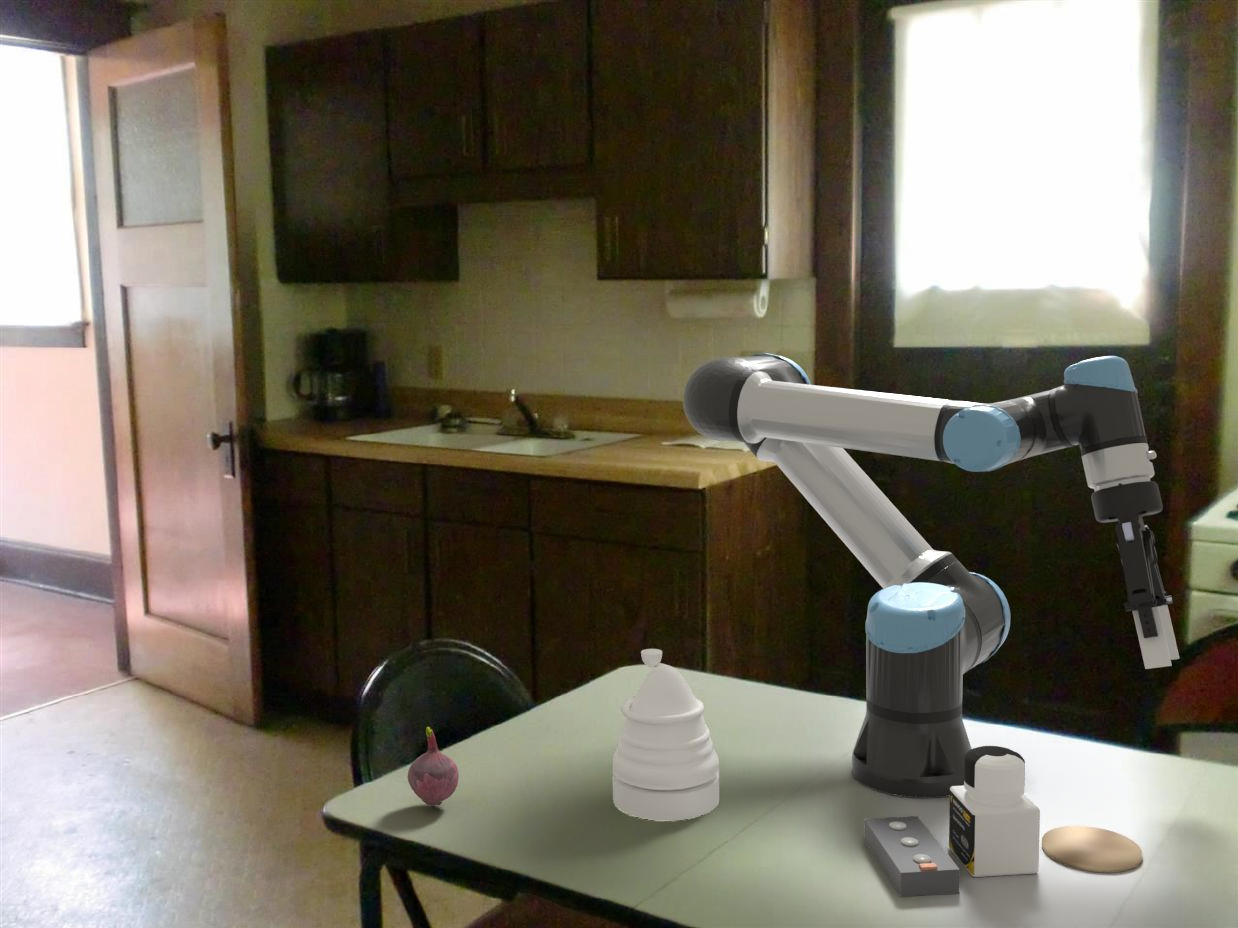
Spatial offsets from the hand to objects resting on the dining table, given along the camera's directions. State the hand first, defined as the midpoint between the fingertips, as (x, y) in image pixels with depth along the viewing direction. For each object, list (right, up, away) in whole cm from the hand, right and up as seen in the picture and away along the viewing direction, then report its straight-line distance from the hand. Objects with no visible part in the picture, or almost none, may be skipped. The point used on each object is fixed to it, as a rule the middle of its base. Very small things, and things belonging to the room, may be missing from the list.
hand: (1163, 663), depth 139 cm
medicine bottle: (-24, -19, -12) cm, 33 cm away
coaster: (-13, -18, -11) cm, 25 cm away
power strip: (-33, -19, -13) cm, 40 cm away
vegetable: (-85, -18, +4) cm, 87 cm away
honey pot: (-58, -17, +5) cm, 60 cm away
